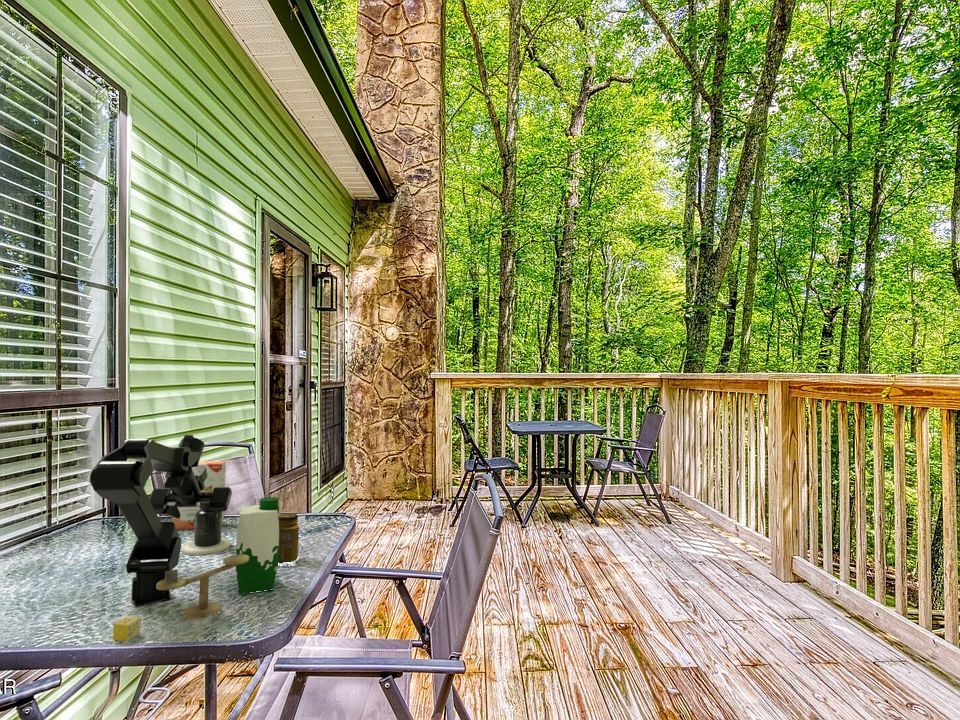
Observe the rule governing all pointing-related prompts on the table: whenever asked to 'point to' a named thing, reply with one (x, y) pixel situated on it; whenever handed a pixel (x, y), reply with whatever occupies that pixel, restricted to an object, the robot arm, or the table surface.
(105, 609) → the table surface
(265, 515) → the milk carton
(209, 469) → the cracker box
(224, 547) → the dish
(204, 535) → the supplement bottle
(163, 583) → the balance
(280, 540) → the condiment
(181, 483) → the robot arm
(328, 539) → the table surface
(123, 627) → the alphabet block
